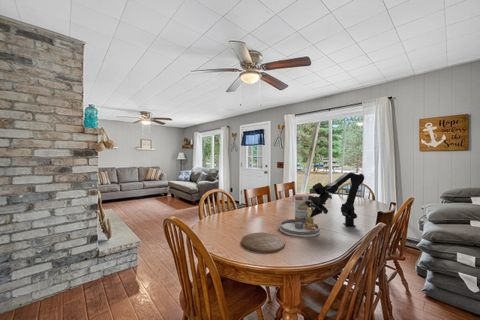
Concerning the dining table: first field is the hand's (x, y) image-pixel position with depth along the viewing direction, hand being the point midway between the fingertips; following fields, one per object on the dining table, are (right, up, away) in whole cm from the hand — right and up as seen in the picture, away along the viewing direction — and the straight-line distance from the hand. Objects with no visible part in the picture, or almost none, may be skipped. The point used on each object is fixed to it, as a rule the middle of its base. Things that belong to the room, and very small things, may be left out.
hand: (308, 216), depth 140 cm
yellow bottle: (+1, -7, 0) cm, 7 cm away
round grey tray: (-6, -9, +1) cm, 11 cm away
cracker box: (+3, -10, +19) cm, 22 cm away
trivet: (-34, -10, -21) cm, 41 cm away
